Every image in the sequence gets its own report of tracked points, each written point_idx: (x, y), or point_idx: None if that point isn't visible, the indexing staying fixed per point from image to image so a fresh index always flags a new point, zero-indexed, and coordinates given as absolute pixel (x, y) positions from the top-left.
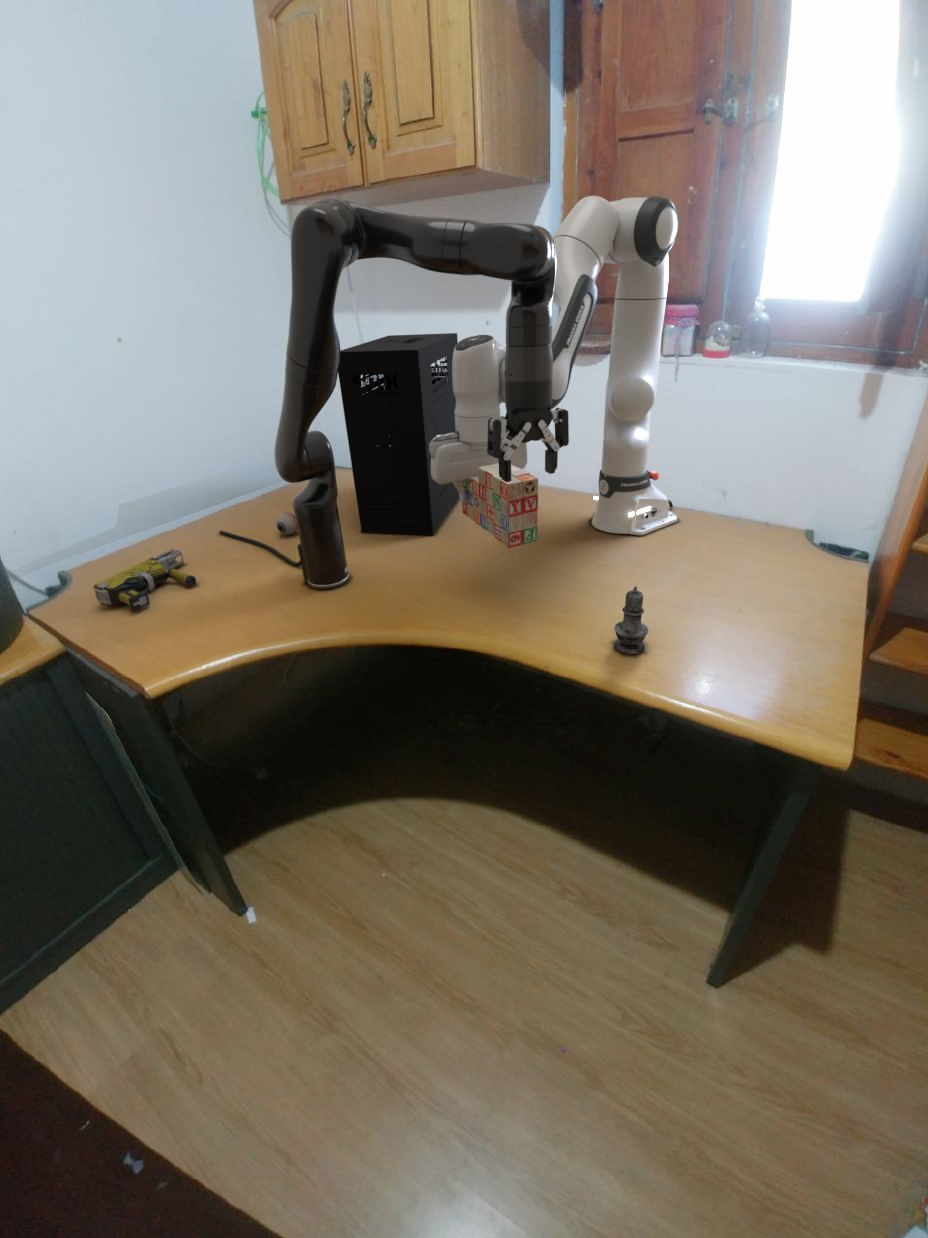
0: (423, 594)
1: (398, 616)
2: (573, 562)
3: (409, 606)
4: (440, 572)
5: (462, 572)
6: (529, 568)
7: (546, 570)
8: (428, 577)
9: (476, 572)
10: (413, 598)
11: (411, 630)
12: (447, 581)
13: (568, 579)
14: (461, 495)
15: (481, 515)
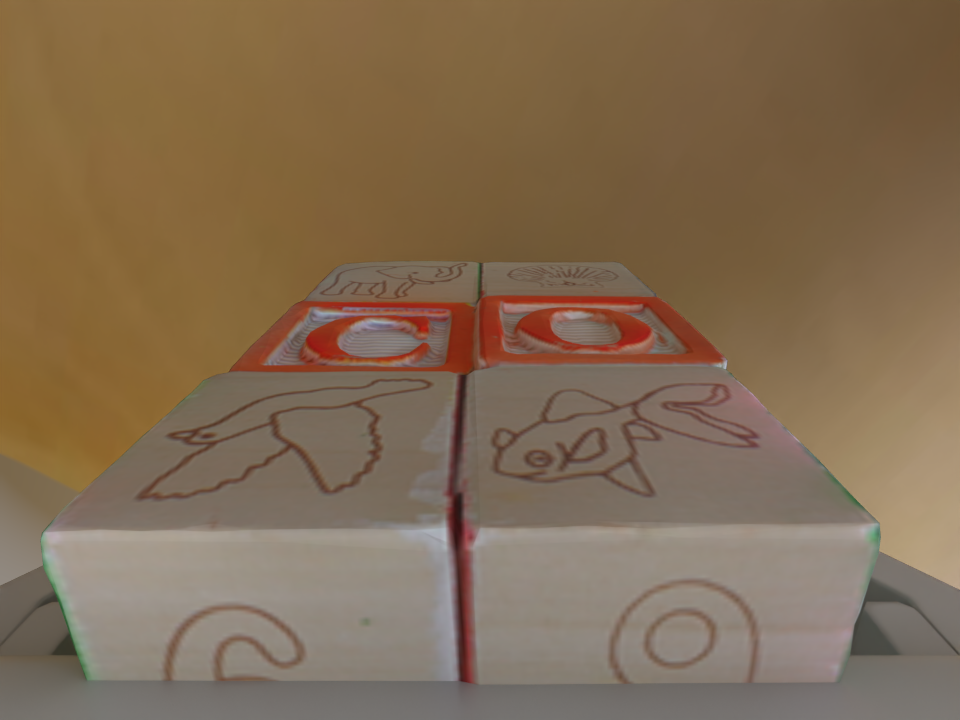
0: (179, 233)
1: (46, 362)
2: (937, 284)
3: (100, 307)
4: (319, 34)
5: (426, 100)
6: (732, 236)
7: (780, 295)
8: (242, 61)
9: (490, 140)
10: (128, 247)
11: (86, 473)
12: (321, 162)
13: (792, 411)
14: None
15: None
